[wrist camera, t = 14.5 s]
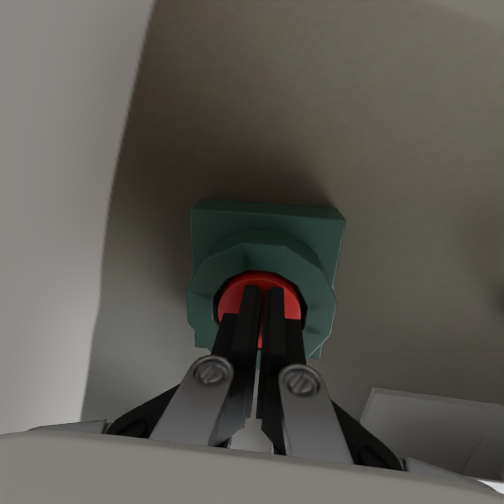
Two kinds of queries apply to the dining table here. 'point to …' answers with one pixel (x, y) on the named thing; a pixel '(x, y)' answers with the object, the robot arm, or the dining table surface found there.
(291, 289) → the button
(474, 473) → the flat slab with scratches
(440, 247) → the dining table surface
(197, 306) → the button box
